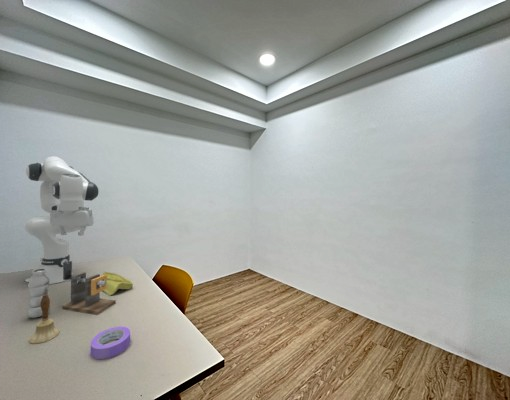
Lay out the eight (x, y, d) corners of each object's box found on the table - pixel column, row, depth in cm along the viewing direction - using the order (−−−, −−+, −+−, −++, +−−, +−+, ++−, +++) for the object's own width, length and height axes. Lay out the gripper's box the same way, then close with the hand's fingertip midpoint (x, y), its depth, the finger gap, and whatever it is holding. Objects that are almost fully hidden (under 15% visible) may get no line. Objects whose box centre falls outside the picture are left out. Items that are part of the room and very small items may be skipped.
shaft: (61, 281, 102) (61, 262, 102) (68, 278, 105) (68, 260, 105) (101, 286, 98) (101, 267, 98) (107, 283, 101) (107, 265, 101)
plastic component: (134, 284, 121) (118, 282, 113) (128, 297, 119) (110, 296, 111) (117, 273, 132) (101, 271, 124) (111, 286, 130) (94, 284, 122)
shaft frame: (62, 309, 98) (62, 278, 98) (83, 298, 108) (83, 270, 108) (97, 314, 95) (97, 282, 94) (115, 303, 105) (116, 274, 104)
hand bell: (65, 331, 83) (65, 291, 83) (40, 345, 75) (40, 301, 75) (49, 327, 85) (49, 288, 85) (22, 341, 77) (22, 298, 76)
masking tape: (85, 363, 68) (85, 352, 68) (96, 340, 79) (96, 330, 79) (127, 354, 73) (127, 343, 73) (132, 333, 84) (132, 323, 84)
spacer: (90, 295, 97) (91, 280, 97) (104, 288, 104) (104, 274, 104) (93, 295, 97) (93, 280, 96) (106, 288, 104) (106, 274, 103)
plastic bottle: (53, 313, 95) (53, 268, 94) (33, 321, 89) (33, 274, 88) (44, 310, 97) (44, 266, 96) (24, 318, 91) (24, 271, 90)
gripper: (96, 206, 107) (97, 234, 107) (59, 206, 108) (60, 233, 109) (85, 207, 100) (85, 236, 100) (46, 207, 102) (46, 235, 102)
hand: (72, 235), depth 105 cm, fingers open, 8 cm apart
